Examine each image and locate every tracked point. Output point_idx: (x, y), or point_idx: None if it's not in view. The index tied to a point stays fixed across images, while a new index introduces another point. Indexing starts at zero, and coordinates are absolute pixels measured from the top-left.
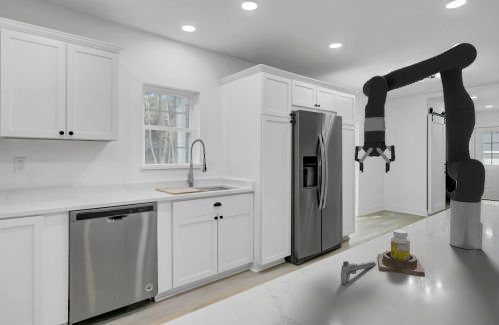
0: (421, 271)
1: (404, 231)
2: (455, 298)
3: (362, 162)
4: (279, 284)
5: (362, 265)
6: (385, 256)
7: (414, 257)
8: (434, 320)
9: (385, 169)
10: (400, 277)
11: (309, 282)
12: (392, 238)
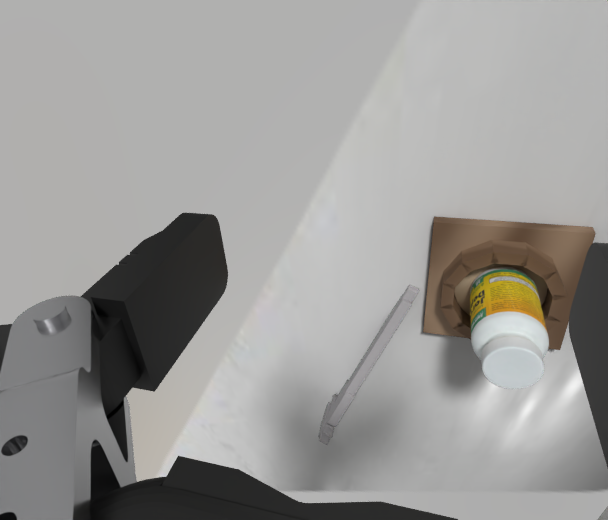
0: (551, 346)
1: (532, 368)
2: (580, 436)
3: (128, 380)
4: (215, 413)
5: (370, 368)
6: (446, 315)
7: (557, 307)
8: (491, 491)
9: (599, 294)
10: (476, 360)
11: (264, 402)
12: (475, 350)
